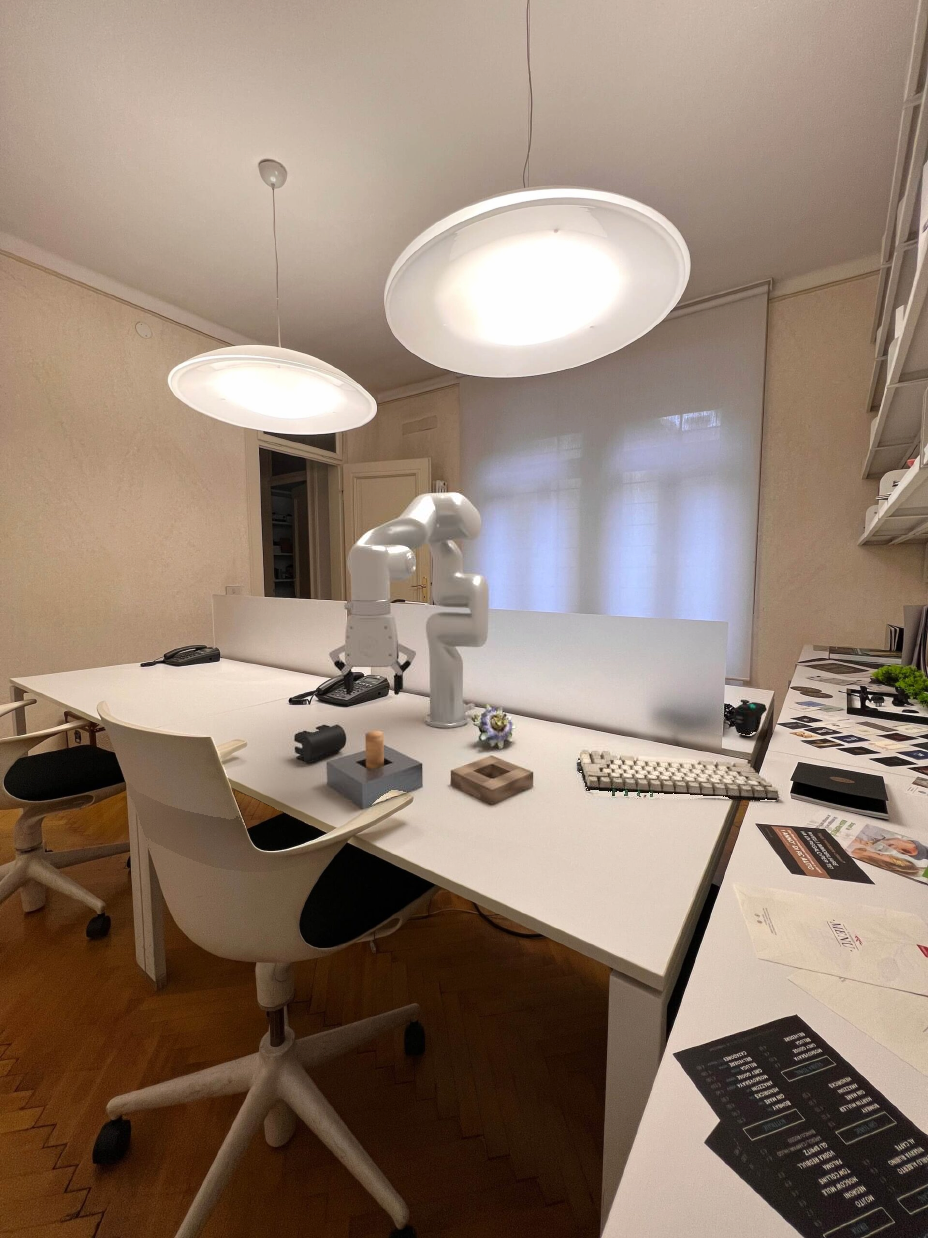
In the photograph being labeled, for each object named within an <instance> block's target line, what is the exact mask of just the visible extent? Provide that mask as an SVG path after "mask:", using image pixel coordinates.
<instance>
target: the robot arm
mask: <svg viewBox="0 0 928 1238" xmlns="http://www.w3.org/2000/svg"><path fill="white" fill-rule="evenodd" d="M481 531H482V517H481V514H480V512H479V511H478V509H477V508H476V507H475V506H474V505H473V504H472V503H471V501H470V500H469V499H468V498H467V497H465V496H464V495H463V494H461V493H459V492H453V491H452V492H451V491H450V492H431V493H422V494H419V495H418V496H416V497H415V498H414V499H413V500H412V501H411V502H410V503H409V505H408V506H407V507H406V508H405V510H404V511H403V512H402V513H401V514H400V515H399V517H397V518H395V519H392V520H390V521H388V522H385V523H383V524H382V525H379V526H377V527H374V528H372V529H370V530H368V531H367V532H365V533H364V534H362V536H361V537H360V538H359V539H358V540H357V541H356V542H355V543H354V545H353V546H352V547H351V548H350V550H349V553H348V555H347V562H346V563H347V570H348V572H349V574H350V593H351V595H350V596H351V600H350V601H349V602H345V603H344V605H343V606H344V607H343V608H344V609H345V610H346V611H347V610H348V611H350V614H351V615H350V614H349V615H348V616H347V618H346V625H345V636H344V638H345V639H344V644H343V645H341V646H339V647H337V648H335V649H334V650H331V651H330V652H329V653H328V656H329V657H330V659H331V661H332V663H333V664H334V667H335V668H337V670H338V671H340V673H341V675H342V676H343V689H344V690H346V691H345V692H346V695H350V694H351V693H353V692H354V691H355V682H354V680H355V679H354V677H355V676H354V672H353V671H352V669H353V668H354V667H355V668H389V667H390V668H391V669H392V670H393V672H394V674H393V689H394V690H393V693H394V695H396V696H399V694H400V693H401V690H403V689H404V673H405V671H406V670H408V668H410V666H411V665H412V663H413V661H414V660H415V657H416V655H417V652H416V651H415V650H413V649H411V648H409V647H407V646H405V645H403V644H401V643H400V642H399V641H398V640H399V639H398V630H397V624H396V619H395V616H394V614H391V611H392V610H391V582H402V581H406V580H408V579H410V578H411V577H412V576H413V574H414V573H415V571H416V568H417V558H416V556H415V553H414V552H413V550H417V549H419V548H421V547H423V546H425V544H427V546H428V548H429V550H430V553H431V557H432V585H431V586H432V587H431V590H432V595H431V596H432V601H433V603H434V604H435V605H436V606H438V607H441V608H442V607H443V608H461V609H464V608H465V609H469V611H470V612H457V611H440V612H439V611H438V612H435V613H432V614H430V616H429V617H428V618H427V620H426V623H425V633H426V639H427V644H428V654H429V655H428V656H429V713H428V714H427V715H425V716H424V723H425V724H426V725H428V726H431V727H434V728H445V729H446V728H447V729H449V728H457V727H461V726H464V725H466V724H468V722H469V716H468V715H467V714H466V713H468V712H469V711H473V710H475V708H476V706H475V704H474V703H473V702H472V703H468V704H466V703H465V702H464V677H463V676H464V662H463V658H462V656H461V653H460V652H459V650H458V649H457V648H458V647H459V648H460V647H462V648H480V647H483V646H484V645H485V644H486V642H487V639H488V636H489V635H488V633H489V608H490V607H489V606H490V605H489V603H490V602H489V601H490V593H489V584H488V581H487V579H486V578H485V576H483V575H481V574H479V573H478V574H477V573H464V556H463V554H462V552H461V550H460V548H459V547H458V545H457V543H456V542H454V541H473V540H475V539H477V538H478V537H479V535H480V534H481ZM456 647H457V648H456ZM342 653H344V661H343V660H342V659H341V658H340V654H342ZM400 653H401V654H403V655H404V656H406V660H405V661H404V662H403V663H401V662H400V661H399V656H400V655H399V654H400Z"/></svg>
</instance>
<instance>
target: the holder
mask: <svg viewBox="0 0 928 1238" xmlns="http://www.w3.org/2000/svg"><path fill="white" fill-rule="evenodd" d="M450 785H452V787H453V786H454V787H455V788H458V789H459V790H461V791H464V792H465V793H468V794H469V795H472V796H473V797H476V798H478V799H480V800H481V801H483V802H485V803H488V804H489V805H491V806H494V805H495V804H497V803H499V802H502V801H504V800H506V799H508V798H510V797H512V796H514V795H516V794H520V793H521V792H523V791H525V790H528V789H529V788H532V787H533V786H534V771H531V770H530V769H526V768H525V767H522V766H519V765H517V764H514V763H512V762H509V761H507V760H504V759H502V758H499V757H497V756H494V755H488V756H487V757H483V758H481V759H477V760H475V761H472V762H469V763H468V764H465V765H464V764H463V765H461V766H459V767H456V768H453V769H451V770H450Z"/></svg>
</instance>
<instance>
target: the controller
mask: <svg viewBox="0 0 928 1238" xmlns="http://www.w3.org/2000/svg"><path fill="white" fill-rule="evenodd" d="M740 703H741V704H739V705H738V706H736V707H734V708H733V719H734V729H735V731H736V733H737V734H739V733H741V734H745V735H750V734H752V733H753V732H757V733H758V731H759V729H760V725H761V722H762V716H763V714H764V713H766V712H767V706H766V704H764V703H760V702H756V701H755V702H753V701H752V702H751V701H750V700H747V699H740ZM751 732H752V733H751Z"/></svg>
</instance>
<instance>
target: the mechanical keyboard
mask: <svg viewBox="0 0 928 1238" xmlns="http://www.w3.org/2000/svg"><path fill="white" fill-rule="evenodd" d="M578 760H580V762H578ZM578 760H577V761H576V772H577V771H578V772H579V773H581V774H582V777H581V779H582V778H583V779H582V781H584V782H583V784H584V783H585V786H584V788H585V787H587V788H586V789H585V792H586V791H590V790H599V791H608V792H609V791H610V792H611V791H612V796H615V792H617V791H619V792H623V791H625V794H624V796H628V792H638V793H637V796H639V797H641V796H640V793H649V792H650V793H652V794H650V797H653V793H658V794H659V793H664V794H673V793H674V794H690V795H703V796H723V797H724V796H725V797H728V798H729V799H731V800H732V801H746V802H761V801H760V800H765V799H767V800H777V799H778V798H779V799H780V795H779V789H778V788H777V787H776V786H775V787H774V786H773V784H772V783H771V782H770V781H767V779H765V778H764V777H761V775H760V774H759V773H758V772H756V770H755V769H754V768H753V767H751V766H750V765H749V763H747V762H735V761H734V763H733V764H732V763H731V762H730V761H720V760H719V761H718V760H717V761H716V762H715V763H714V761H713V760H702V759H700V760H698V761H697V760H696V759H694V758H693V759H690V758H689V759H688V758H678V757H675V758H673V757H663V756H662V757H660V756H659V757H657V756H643V755H641V756H640V755H638V756H637V757H636V759H635V757H634V755H620V756H619V758H618V755H616V754H611V753H610V751H609V750H608V751H606V750H602V751H601V754H600V751H599V750H591V752H590V751H589V750H588V749H582V750H581V752H580V753H579V757H578ZM580 771H582V772H580ZM578 772H577V773H578ZM579 773H578V774H579ZM587 789H588V790H587ZM731 800H730V801H731ZM751 800H752V801H751ZM753 800H754V801H753ZM777 801H778V800H777Z"/></svg>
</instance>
